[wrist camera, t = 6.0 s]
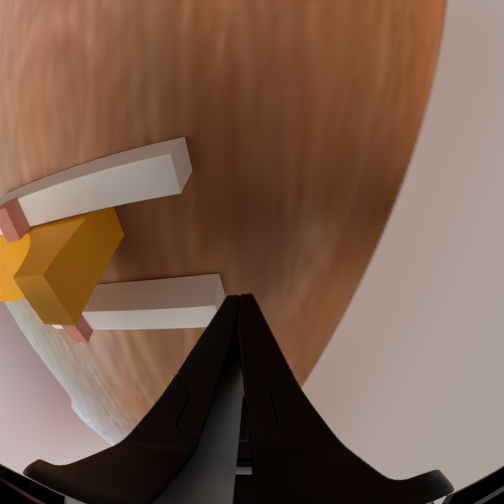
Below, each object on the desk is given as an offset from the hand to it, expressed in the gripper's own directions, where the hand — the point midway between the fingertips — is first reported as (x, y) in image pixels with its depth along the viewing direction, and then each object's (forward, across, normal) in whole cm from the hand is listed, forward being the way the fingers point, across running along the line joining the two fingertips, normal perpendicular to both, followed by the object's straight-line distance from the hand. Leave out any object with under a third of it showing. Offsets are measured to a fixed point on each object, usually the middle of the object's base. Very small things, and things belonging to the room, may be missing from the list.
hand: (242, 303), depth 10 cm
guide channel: (+6, +8, 0) cm, 10 cm away
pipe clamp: (+6, +12, 0) cm, 14 cm away
